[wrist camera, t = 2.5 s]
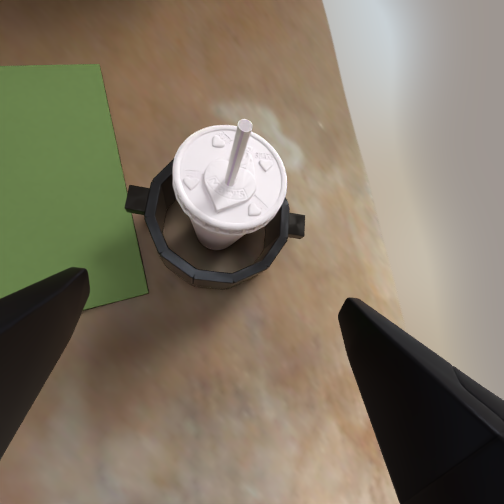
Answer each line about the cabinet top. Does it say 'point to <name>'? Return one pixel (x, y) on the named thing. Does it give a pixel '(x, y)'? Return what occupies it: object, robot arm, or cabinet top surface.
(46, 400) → the cabinet top surface
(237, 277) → the pot
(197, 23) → the cabinet top surface
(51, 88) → the cloth
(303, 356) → the cabinet top surface
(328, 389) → the cabinet top surface
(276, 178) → the smoothie
